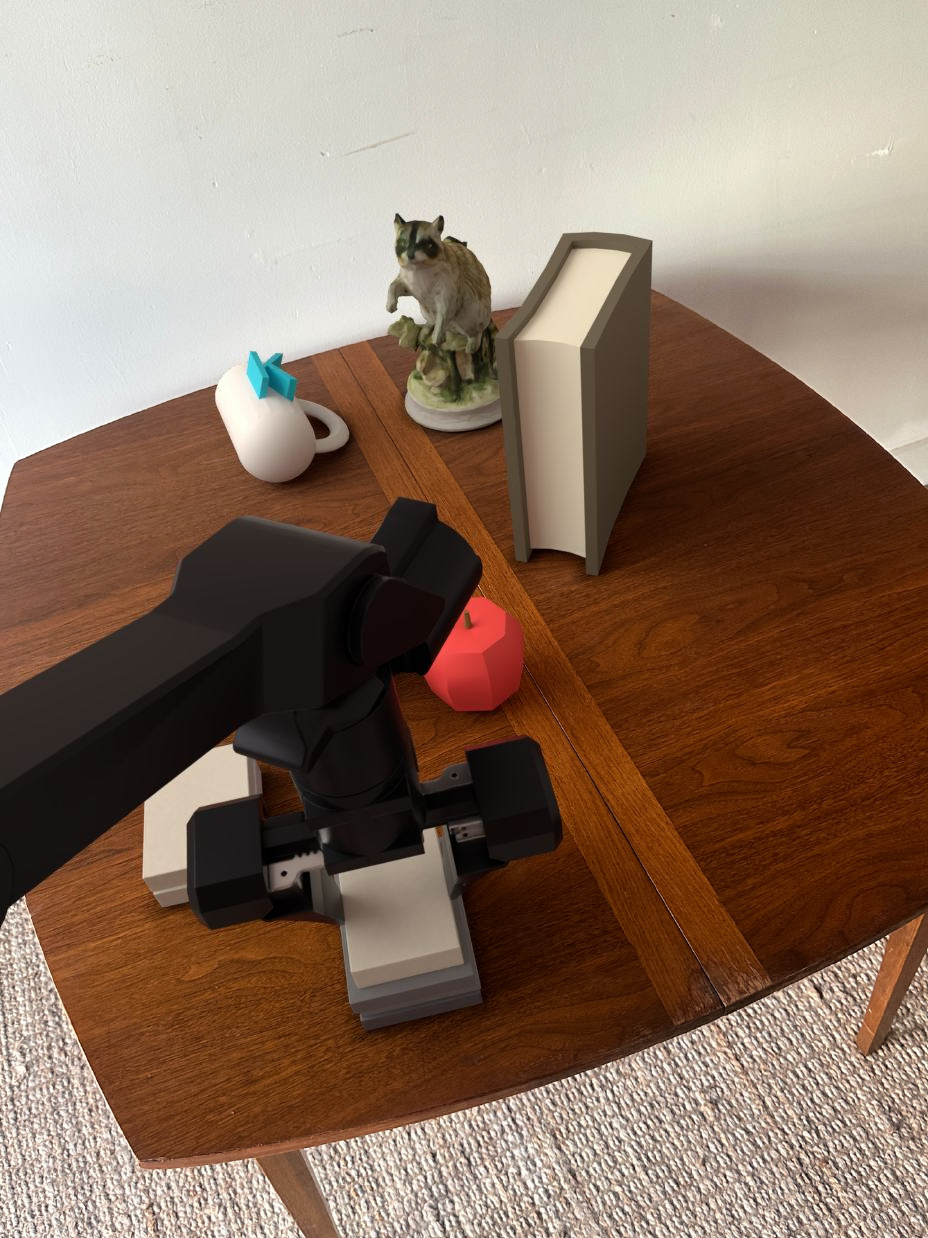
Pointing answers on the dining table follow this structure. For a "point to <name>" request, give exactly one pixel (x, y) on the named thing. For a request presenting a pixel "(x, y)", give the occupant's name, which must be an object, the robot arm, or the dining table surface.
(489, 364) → the figurine
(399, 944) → the white block
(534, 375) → the book
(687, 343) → the dining table surface
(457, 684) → the apple
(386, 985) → the grey pile
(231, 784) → the white pile
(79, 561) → the dining table surface
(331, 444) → the mug
